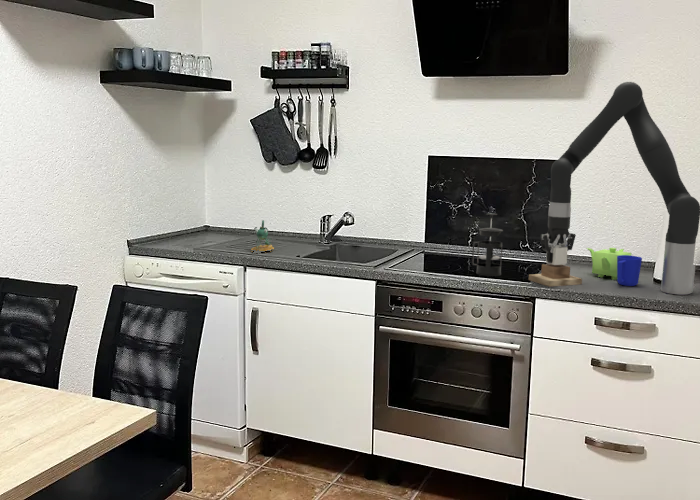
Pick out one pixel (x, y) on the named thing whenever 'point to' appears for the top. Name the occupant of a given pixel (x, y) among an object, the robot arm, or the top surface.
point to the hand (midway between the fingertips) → (556, 262)
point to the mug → (628, 270)
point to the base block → (555, 271)
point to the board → (554, 280)
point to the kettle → (606, 262)
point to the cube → (559, 255)
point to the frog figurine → (262, 238)
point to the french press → (488, 251)
